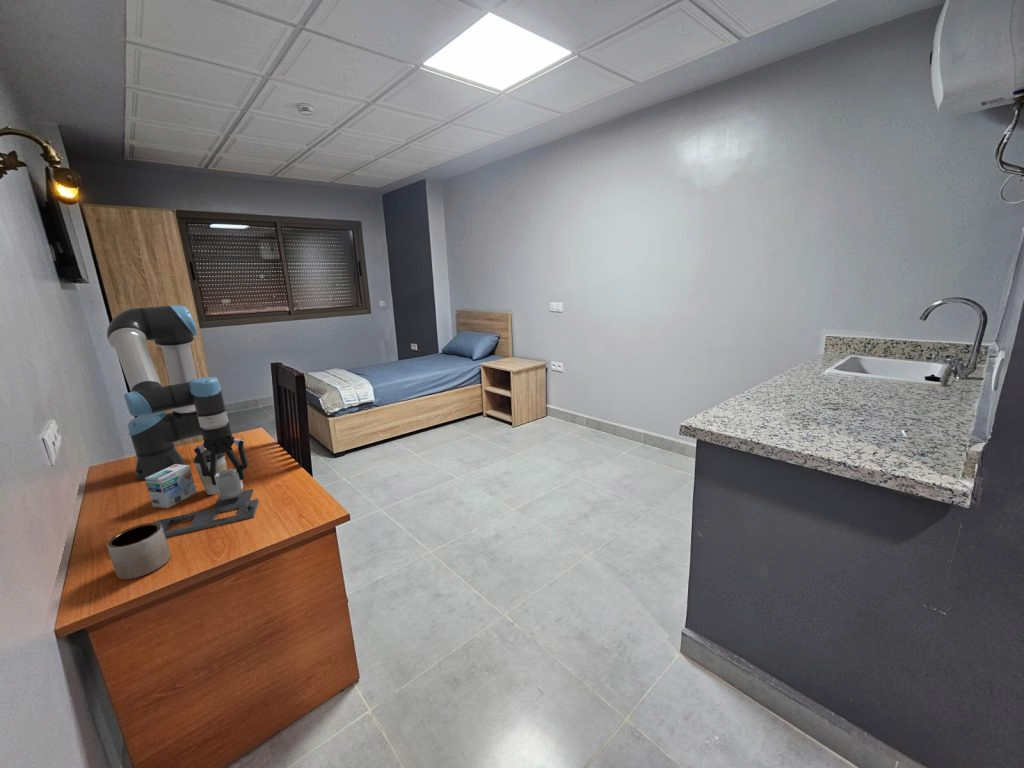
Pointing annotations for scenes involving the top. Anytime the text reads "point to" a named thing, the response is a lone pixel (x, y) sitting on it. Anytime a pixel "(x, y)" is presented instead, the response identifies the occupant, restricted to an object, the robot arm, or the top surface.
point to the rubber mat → (235, 499)
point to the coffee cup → (207, 480)
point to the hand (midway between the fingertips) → (231, 490)
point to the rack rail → (209, 518)
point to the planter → (139, 550)
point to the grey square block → (228, 484)
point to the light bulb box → (171, 485)
